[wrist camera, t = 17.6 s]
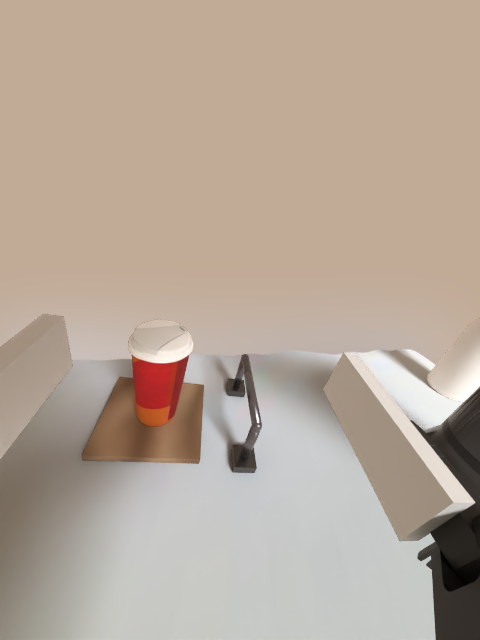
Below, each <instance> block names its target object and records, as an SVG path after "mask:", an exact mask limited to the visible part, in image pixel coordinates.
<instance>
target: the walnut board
mask: <svg viewBox="0 0 480 640" xmlns="http://www.w3.org/2000/svg"><path fill="white" fill-rule="evenodd" d="M203 392H204V385H198V384H187V383H183V384H182V388H181V392H180V397H179V401H178V405H177V409H176V412H175V415H174V417H173V418H172V419H171V420H170V421H169V422H168V423H166V424H164V425H162V426H157V427H151V426H147V425H144V424H143V423H141V422H140V421H139V419H138V417H137V412H136V403H135V391H134V378H124V377H120V378H119V380H118V382H117V384H116V386H115V388H114V390H113V392H112V394H111V396H110V398H109V400H108V402H107V404H106V406H105V409H104V411H103V413H102V415H101V417H100V419H99V421H98V423H97V425H96V427H95V429H94V431H93V433H92V435H91V437H90V439H89V442H88V444H87V446H86V448H85V450H84V452H83V454H82V459H83V460H97V461H130V462H163V463H197V464H199V461H200V450H201V430H202V411H203Z"/></svg>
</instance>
